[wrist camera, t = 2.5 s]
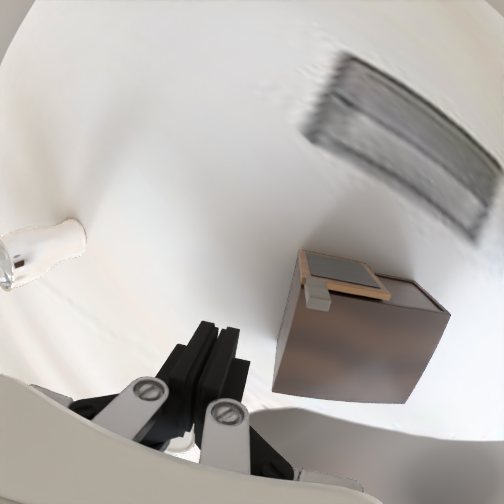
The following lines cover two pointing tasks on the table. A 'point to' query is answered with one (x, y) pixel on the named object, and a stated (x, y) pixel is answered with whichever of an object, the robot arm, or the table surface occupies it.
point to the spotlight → (181, 444)
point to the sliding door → (336, 279)
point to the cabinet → (358, 343)
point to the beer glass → (38, 251)
